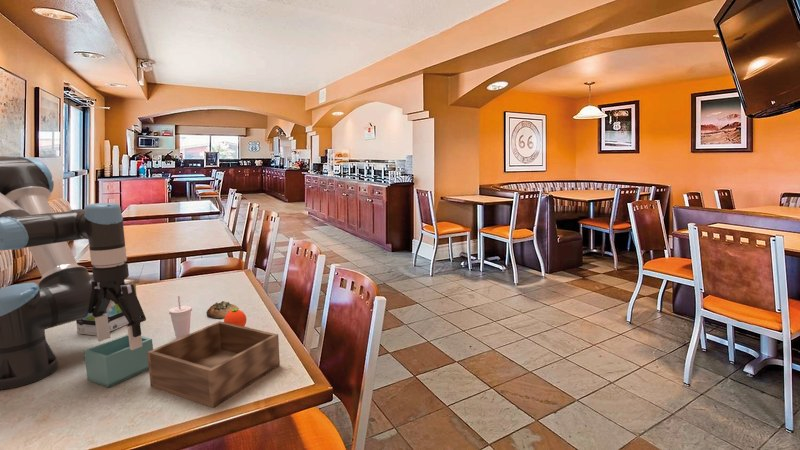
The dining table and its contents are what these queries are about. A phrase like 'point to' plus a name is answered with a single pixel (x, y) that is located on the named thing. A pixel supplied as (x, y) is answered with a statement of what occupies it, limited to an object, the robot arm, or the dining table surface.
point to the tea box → (113, 314)
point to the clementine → (235, 317)
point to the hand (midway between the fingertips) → (119, 343)
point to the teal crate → (116, 361)
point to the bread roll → (220, 309)
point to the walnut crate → (213, 362)
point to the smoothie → (181, 319)
